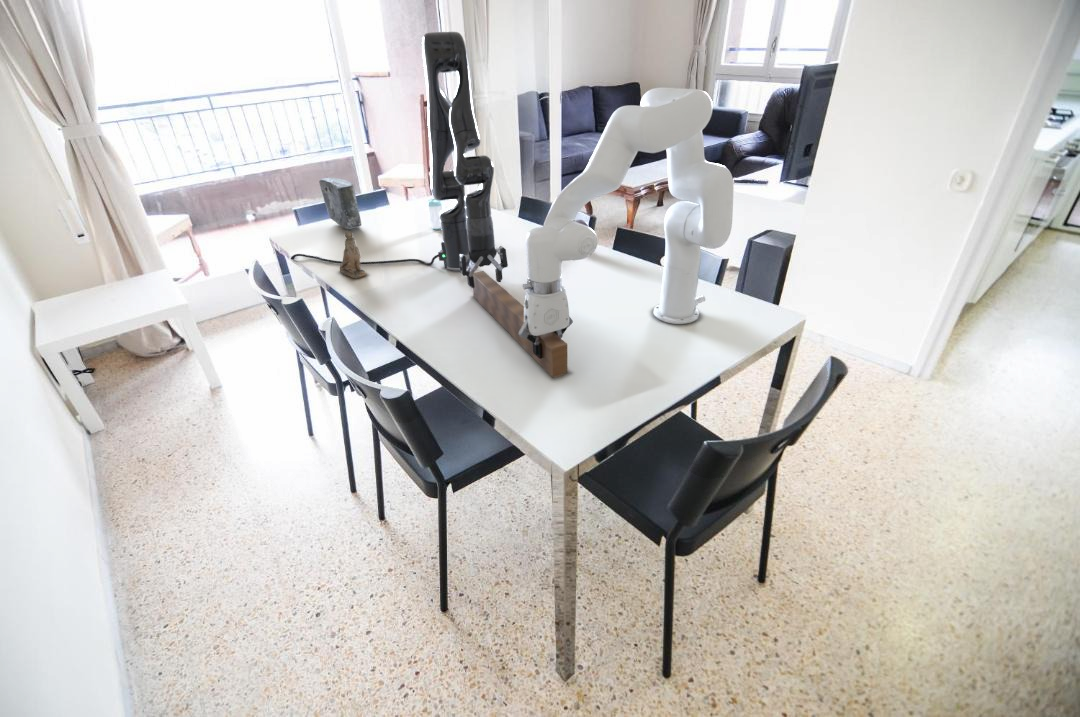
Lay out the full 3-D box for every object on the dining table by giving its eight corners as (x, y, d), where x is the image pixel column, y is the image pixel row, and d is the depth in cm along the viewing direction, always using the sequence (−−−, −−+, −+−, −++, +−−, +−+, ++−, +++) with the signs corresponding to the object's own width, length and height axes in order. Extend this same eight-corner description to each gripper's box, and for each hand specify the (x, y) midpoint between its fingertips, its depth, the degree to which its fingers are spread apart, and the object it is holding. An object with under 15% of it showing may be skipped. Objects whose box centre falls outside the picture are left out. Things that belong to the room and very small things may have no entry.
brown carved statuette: (368, 281, 178) (362, 235, 166) (353, 285, 175) (347, 238, 163) (352, 266, 184) (346, 221, 172) (338, 270, 181) (331, 224, 169)
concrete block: (366, 231, 222) (356, 185, 212) (347, 235, 218) (335, 188, 207) (347, 218, 241) (337, 175, 230) (329, 222, 236) (318, 178, 226)
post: (473, 297, 158) (470, 273, 153) (485, 294, 159) (483, 270, 155) (552, 378, 117) (552, 348, 113) (567, 373, 118) (567, 343, 114)
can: (445, 229, 220) (441, 202, 214) (429, 230, 220) (425, 202, 214) (447, 224, 226) (444, 198, 220) (432, 225, 226) (428, 198, 220)
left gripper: (460, 238, 136) (467, 293, 144) (508, 230, 141) (512, 283, 149) (452, 232, 142) (459, 285, 150) (498, 224, 147) (502, 275, 155)
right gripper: (518, 298, 106) (522, 370, 115) (585, 282, 112) (584, 351, 121) (504, 286, 111) (509, 355, 121) (568, 271, 118) (569, 338, 127)
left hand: (485, 284), depth 150 cm, fingers open, 8 cm apart
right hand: (547, 352), depth 121 cm, fingers closed on post, 4 cm apart
